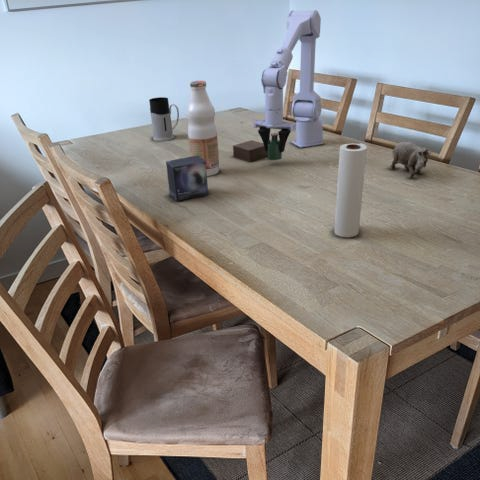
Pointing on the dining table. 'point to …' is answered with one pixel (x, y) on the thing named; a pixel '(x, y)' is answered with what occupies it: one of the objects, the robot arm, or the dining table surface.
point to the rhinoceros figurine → (410, 157)
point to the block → (249, 150)
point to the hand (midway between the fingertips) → (274, 150)
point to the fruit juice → (202, 127)
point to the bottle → (274, 148)
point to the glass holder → (162, 118)
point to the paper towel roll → (349, 189)
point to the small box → (187, 177)
